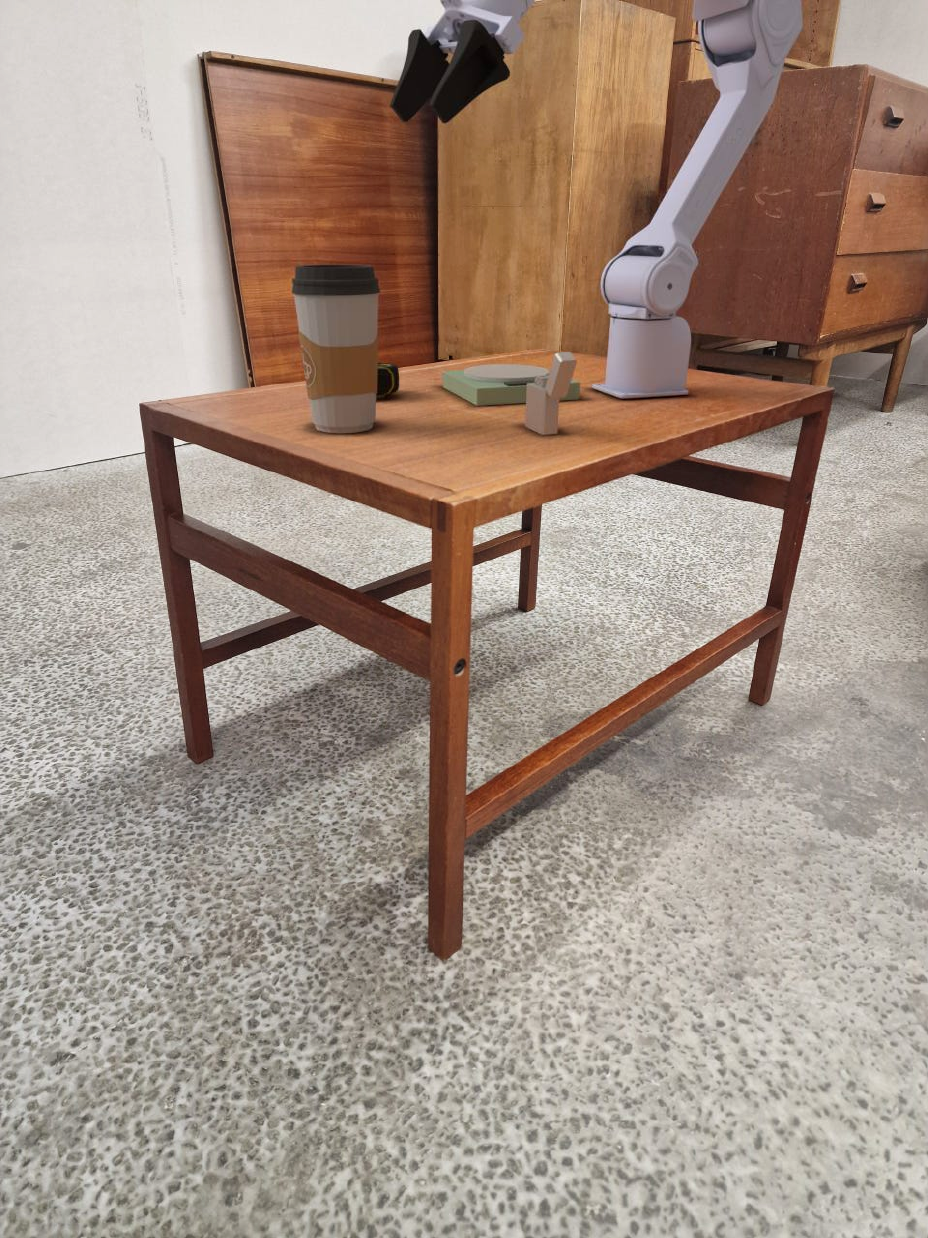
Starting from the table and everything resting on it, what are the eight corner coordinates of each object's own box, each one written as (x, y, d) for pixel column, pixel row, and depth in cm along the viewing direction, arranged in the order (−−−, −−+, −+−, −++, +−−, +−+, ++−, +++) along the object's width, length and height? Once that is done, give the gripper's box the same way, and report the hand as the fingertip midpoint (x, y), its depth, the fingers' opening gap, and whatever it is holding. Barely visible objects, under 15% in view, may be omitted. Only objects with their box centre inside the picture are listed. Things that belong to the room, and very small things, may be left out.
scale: (535, 381, 106) (536, 361, 105) (579, 399, 95) (580, 377, 94) (442, 386, 103) (442, 365, 102) (476, 406, 92) (476, 382, 90)
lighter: (524, 426, 82) (527, 344, 79) (539, 424, 83) (543, 343, 79) (556, 441, 76) (561, 354, 73) (572, 440, 77) (578, 353, 73)
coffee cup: (294, 421, 84) (280, 264, 77) (371, 415, 87) (364, 263, 80) (314, 439, 77) (300, 268, 70) (396, 431, 80) (391, 267, 73)
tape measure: (389, 390, 101) (387, 358, 99) (407, 399, 95) (406, 366, 93) (336, 393, 98) (334, 361, 96) (352, 403, 92) (350, 370, 91)
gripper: (435, -41, 77) (354, 79, 78) (524, -63, 67) (428, 75, 68) (478, 25, 82) (401, 137, 83) (567, 14, 72) (478, 142, 73)
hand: (417, 113), depth 76 cm, fingers open, 7 cm apart
